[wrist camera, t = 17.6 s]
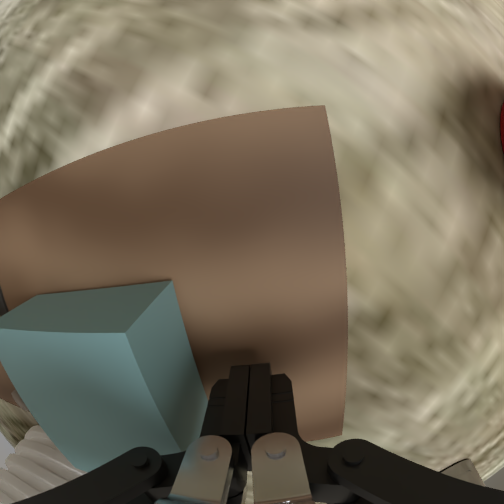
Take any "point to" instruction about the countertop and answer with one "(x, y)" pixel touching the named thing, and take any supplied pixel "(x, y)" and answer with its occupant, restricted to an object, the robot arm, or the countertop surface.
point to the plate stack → (34, 468)
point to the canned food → (502, 126)
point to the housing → (106, 371)
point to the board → (205, 245)
